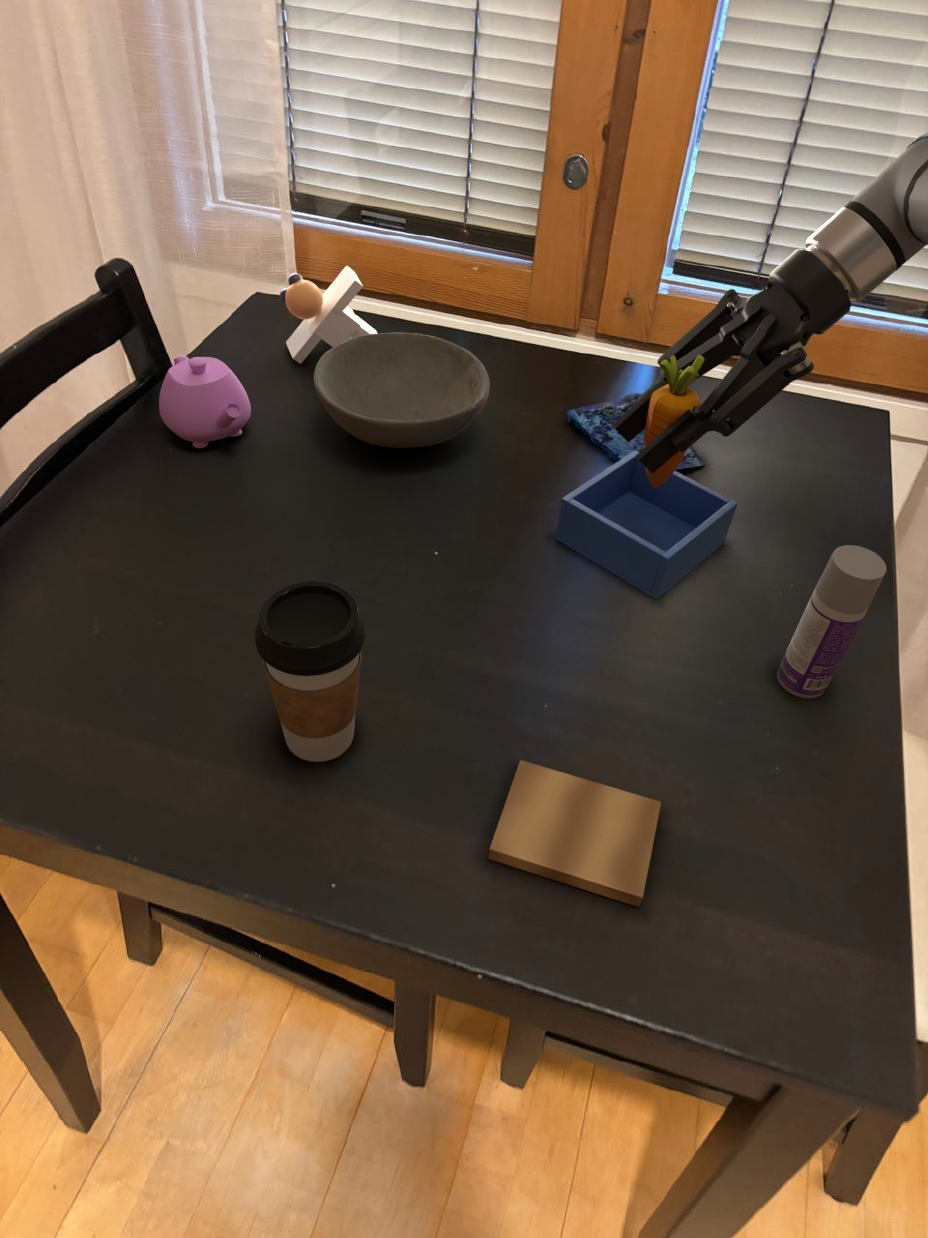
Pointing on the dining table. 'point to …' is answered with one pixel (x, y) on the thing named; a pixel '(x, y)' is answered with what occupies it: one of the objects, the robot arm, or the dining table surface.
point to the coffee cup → (313, 665)
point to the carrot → (670, 411)
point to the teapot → (203, 400)
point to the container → (830, 620)
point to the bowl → (401, 388)
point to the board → (577, 832)
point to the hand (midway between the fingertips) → (632, 448)
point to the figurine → (323, 313)
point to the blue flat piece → (603, 434)
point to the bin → (644, 524)
